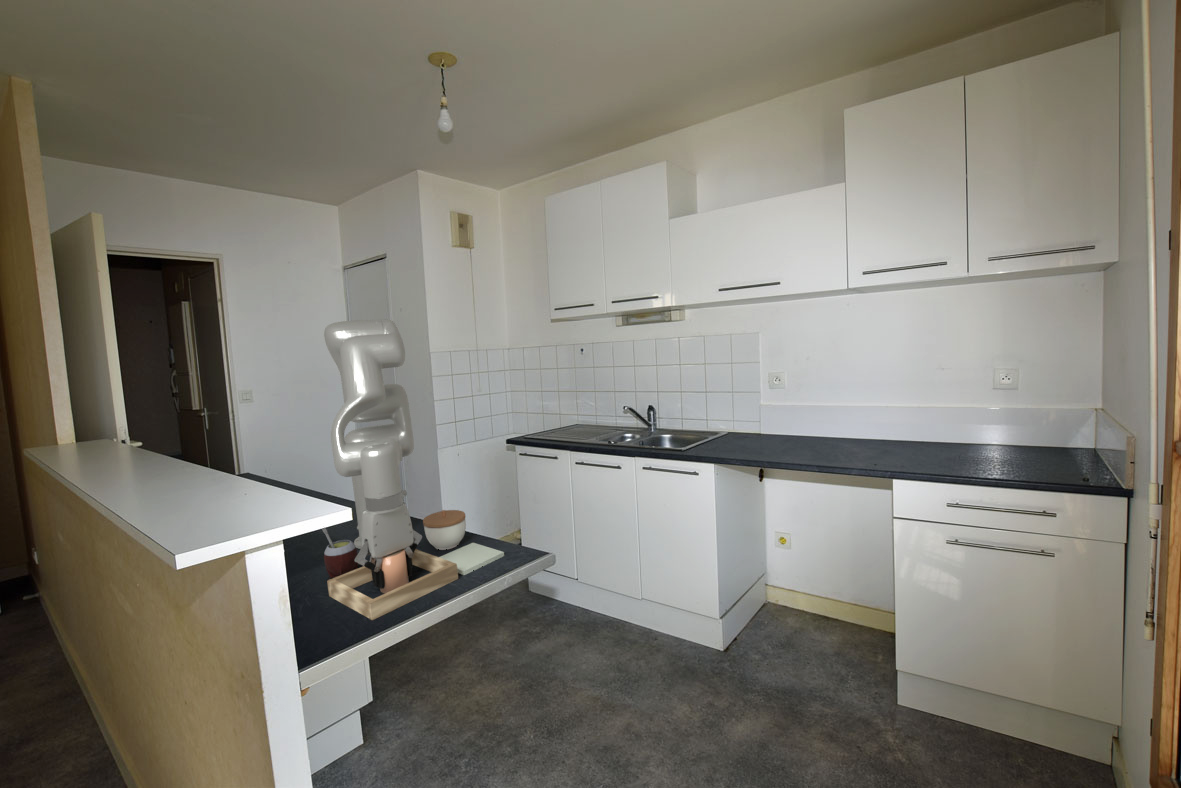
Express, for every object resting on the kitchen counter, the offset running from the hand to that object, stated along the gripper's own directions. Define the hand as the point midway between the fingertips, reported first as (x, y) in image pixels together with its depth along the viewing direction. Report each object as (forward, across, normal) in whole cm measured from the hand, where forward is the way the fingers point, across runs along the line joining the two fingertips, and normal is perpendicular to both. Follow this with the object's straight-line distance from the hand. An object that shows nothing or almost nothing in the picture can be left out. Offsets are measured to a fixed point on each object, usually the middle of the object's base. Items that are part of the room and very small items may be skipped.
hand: (393, 579), depth 118 cm
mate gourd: (+2, +4, -16) cm, 17 cm away
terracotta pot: (+2, 0, 0) cm, 2 cm away
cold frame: (+2, 0, 0) cm, 2 cm away
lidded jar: (+2, -21, -10) cm, 23 cm away
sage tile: (+2, -18, +3) cm, 18 cm away
